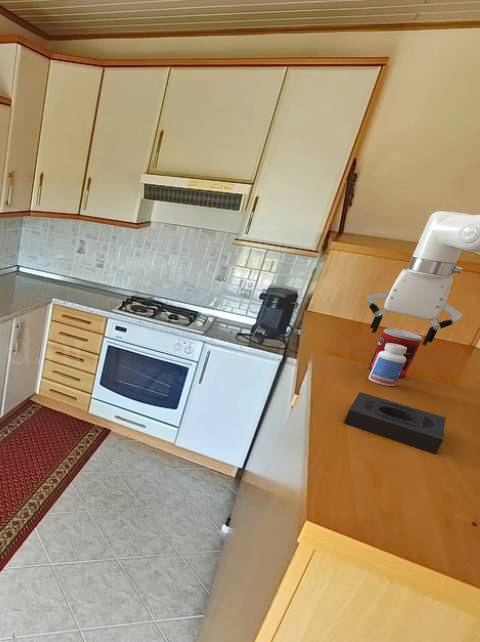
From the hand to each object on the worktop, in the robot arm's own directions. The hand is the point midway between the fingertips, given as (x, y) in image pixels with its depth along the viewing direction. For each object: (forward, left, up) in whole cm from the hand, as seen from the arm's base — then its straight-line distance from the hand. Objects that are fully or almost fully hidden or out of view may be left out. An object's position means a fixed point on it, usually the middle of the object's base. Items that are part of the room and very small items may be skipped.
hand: (398, 337), depth 118 cm
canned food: (-8, -8, -12) cm, 16 cm away
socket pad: (+18, +25, -12) cm, 33 cm away
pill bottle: (0, 0, -12) cm, 12 cm away
